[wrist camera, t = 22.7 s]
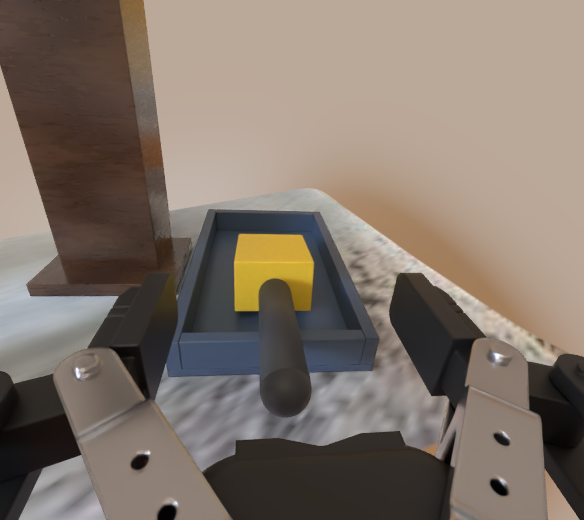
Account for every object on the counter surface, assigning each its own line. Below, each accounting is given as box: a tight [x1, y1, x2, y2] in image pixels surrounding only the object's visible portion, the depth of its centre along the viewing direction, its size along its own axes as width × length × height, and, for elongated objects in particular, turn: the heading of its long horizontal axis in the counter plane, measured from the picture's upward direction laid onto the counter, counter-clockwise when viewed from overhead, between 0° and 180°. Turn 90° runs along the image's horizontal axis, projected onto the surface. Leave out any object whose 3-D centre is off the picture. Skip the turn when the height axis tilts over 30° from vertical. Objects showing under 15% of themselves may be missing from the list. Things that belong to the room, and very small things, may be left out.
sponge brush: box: [234, 234, 314, 418], centre depth 19 cm, size 5×16×4 cm, turn 5°
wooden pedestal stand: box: [0, 0, 192, 296], centre depth 20 cm, size 10×8×32 cm
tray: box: [166, 209, 379, 377], centre depth 27 cm, size 12×20×2 cm, turn 5°
